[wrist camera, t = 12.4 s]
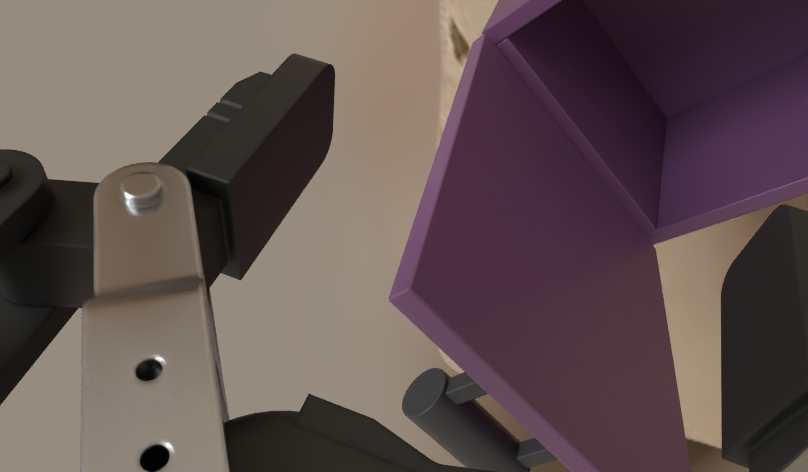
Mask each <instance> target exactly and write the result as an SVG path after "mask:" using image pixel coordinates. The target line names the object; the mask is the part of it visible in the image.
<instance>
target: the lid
mask: <svg viewBox="0 0 808 472" xmlns="http://www.w3.org/2000/svg"><path fill="white" fill-rule="evenodd" d="M389 301H390V302H391V303H392V304H393V305H394V306H395V307H397V309H399V310H400V311H401V312H402V313H403V314H404V315H405V316H406V317H407V318H408V319H409V320H411V322H412V323H413V324H414V325H416V326H417V327H418V328H419V329H420V330H421V331H422V332H423V333H424V334H425V335H426V336H427V337H429V339H430V340H432V341H433V342H434V343H435V344H436V345H437V346H438V347H439V348H440V349H441V350H442V351H443V352H444V353H445V354H446V355H447V356H449V357H450V358H451V359H452V360H453V361H454V362H455V363H456V364H457V365H458V366H459V367H460V368H461V369H462V370H463V371H465V372H464V373H461V374H459V375H456V376H454V377H452V378H451V377H450V376H449V375H447V373H445V372H444V371H443V370H442V369H439V368H432V369H429V370H427V371H425V372H424V373H422V374H421V375H419V376H418V377H417V378H416V379H415V380H414V381H413V382H412V384H411V385H410V386H409V388H408V389H407V391H406V393H405V395H404V398H403V402H402V410H403V412H404V414H405V415H406V416H407V417H408V418H409V419H410V420H412V421H413V422H414V423H415V424H416V425H417V426H418V427H420V428H421V429H422V430H423V431H424V432H426V433H427V434H428V435H429V436H430V437H432V438H433V439H434V440H435V441H436V442H437V443H438V444H440V445H441V446H442V447H443V448H444V449H445V450H447V451H448V452H449V453H450V454H451V455H452V456H454V457H455V458H456V459H457V460H458V461H460V462H461V463H462V464H463V465H464V466H465V467H466V468H472V469H481V470H489V471H497V472H530V469H531V467H534V466H538V465H541V464H545V463H548V462H552V461H555V460H559V461H560V462H561V463H563V464H564V465H565V466H566V467H567V468H568V469H569V470H570V471H571V472H691V470H690V464H689V457H688V452H687V445H686V438H685V432H684V426H683V419H682V413H681V407H680V400H679V394H678V388H677V381H676V375H675V369H674V362H673V356H672V350H671V343H670V337H669V331H668V324H667V318H666V312H665V305H664V299H663V293H662V286H661V280H660V274H659V267H658V261H657V255H656V249H655V248H654V246H653V245H652V244H651V242H650V241H649V240H648V239H647V237H646V236H645V235H644V234H643V232H642V231H641V230H640V229H639V227H638V226H637V225H636V223H635V222H634V221H633V220H632V218H631V217H630V216H629V215H628V213H627V212H626V211H625V210H624V208H623V207H622V206H621V205H620V203H619V202H618V201H617V199H616V198H615V197H614V196H613V194H612V193H611V192H610V191H609V189H608V188H607V187H606V186H605V184H604V183H603V182H602V180H601V179H600V178H599V177H598V175H597V174H596V173H595V172H594V170H593V169H592V168H591V167H590V165H589V164H588V163H587V161H586V160H585V159H584V158H583V156H582V155H581V154H580V153H579V151H578V150H577V149H576V148H575V146H574V145H573V144H572V143H571V141H570V140H569V139H568V137H567V136H566V135H565V134H564V132H563V131H562V130H561V129H560V127H559V126H558V125H557V124H556V122H555V121H554V120H553V118H552V117H551V116H550V115H549V113H548V112H547V111H546V110H545V108H544V107H543V106H542V105H541V103H540V102H539V101H538V99H537V98H536V97H535V96H534V94H533V93H532V92H531V91H530V89H529V88H528V87H527V86H526V84H525V83H524V82H523V81H522V79H521V78H520V77H519V75H518V74H517V73H516V72H515V70H514V69H513V68H512V67H511V65H510V64H509V63H508V62H507V60H506V59H505V58H504V56H503V55H502V54H501V53H500V51H499V50H498V49H497V48H496V46H495V45H494V44H493V43H492V41H491V40H490V39H489V38H488V36H487V35H486V34H483V35H482V36H481V37H480V38H478V39H477V40H476V41H474V42H473V44H472V47H471V50H470V53H469V56H468V59H467V62H466V65H465V68H464V71H463V74H462V77H461V80H460V83H459V86H458V89H457V92H456V95H455V98H454V101H453V104H452V107H451V110H450V114H449V117H448V120H447V123H446V126H445V129H444V132H443V135H442V138H441V141H440V144H439V147H438V150H437V153H436V156H435V159H434V162H433V165H432V169H431V171H430V174H429V177H428V181H427V184H426V187H425V189H424V193H423V196H422V199H421V202H420V205H419V208H418V211H417V214H416V217H415V220H414V223H413V226H412V230H411V232H410V235H409V238H408V241H407V244H406V247H405V250H404V253H403V256H402V260H401V263H400V265H399V268H398V272H397V275H396V278H395V281H394V284H393V287H392V290H391V293H390V296H389ZM486 394H489V395H490V396H491V397H492V398H493V399H494V400H495V401H497V402H498V403H499V404H500V405H501V406H502V407H503V408H504V409H505V410H506V411H507V412H508V413H509V414H510V415H511V416H512V417H514V418H515V419H516V420H517V421H518V422H519V423H520V424H521V425H522V426H523V427H524V428H525V429H526V430H527V431H528V432H529V433H531V434H532V435H533V436H534V437H535V438H532V439H529V440H526V441H523V442H520V441H519V440H518V439H517V438H516V437H515V436H514V435H513V434H511V433H510V432H509V431H508V430H507V429H506V428H505V427H504V426H503V425H502V424H501V423H500V422H499V421H497V420H496V419H495V418H494V417H493V416H492V415H491V414H490V413H489V412H488V411H487V410H485V409H484V408H483V407H482V406H481V405H480V404H479V403H478V402H477V401H476V400H475V398H478V397H481V396H483V395H486Z"/></svg>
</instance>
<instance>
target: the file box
mask: <svg viewBox="0 0 808 472" xmlns="http://www.w3.org/2000/svg"><path fill="white" fill-rule="evenodd" d="M482 34H486V35H487V36H488V38H489V39H490V40H491V41H492V43H493V44H494V45H495V46H496V48H497V49H498V50H499V51H500V53H501V54H502V55H503V56H504V58H505V59H506V60H507V62H508V63H509V64H510V65H511V67H512V68H513V69H514V70H515V72H516V73H517V74H518V75H519V77H520V78H521V79H522V81H523V82H524V83H525V84H526V86H527V87H528V88H529V89H530V91H531V92H532V93H533V94H534V96H535V97H536V98H537V99H538V101H539V102H540V103H541V105H542V106H543V107H544V108H545V110H546V111H547V112H548V113H549V115H550V116H551V117H552V118H553V120H554V121H555V122H556V124H557V125H558V126H559V127H560V129H561V130H562V131H563V132H564V134H565V135H566V136H567V137H568V139H569V140H570V141H571V143H572V144H573V145H574V146H575V148H576V149H577V150H578V151H579V153H580V154H581V155H582V156H583V158H584V159H585V160H586V161H587V163H588V164H589V165H590V167H591V168H592V169H593V170H594V172H595V173H596V174H597V175H598V177H599V178H600V179H601V180H602V182H603V183H604V184H605V186H606V187H607V188H608V189H609V191H610V192H611V193H612V194H613V196H614V197H615V198H616V199H617V201H618V202H619V203H620V205H621V206H622V207H623V208H624V210H625V211H626V212H627V213H628V215H629V216H630V217H631V218H632V220H633V221H634V222H635V223H636V225H637V226H638V227H639V229H640V230H641V231H642V232H643V234H644V235H645V236H646V237H647V239H648V240H649V241H650V242H651V244H652V245H654V244H657V243H660V242H663V241H666V240H669V239H672V238H675V237H678V236H681V235H684V234H687V233H690V232H693V231H696V230H699V229H702V228H705V227H708V226H711V225H714V224H717V223H720V222H723V221H726V220H729V219H732V218H735V217H738V216H741V215H744V214H747V213H750V212H753V211H756V210H759V209H762V208H765V207H768V206H771V205H774V204H777V203H780V202H783V201H786V200H789V199H792V198H795V197H798V196H801V195H804V194H807V193H808V0H499V1H498V3H497V5H496V7H495V9H494V11H493V13H492V15H491V17H490V18H489V20H488V22H487V24H486V26H485V28H484V30H483V32H482Z"/></svg>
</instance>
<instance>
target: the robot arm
mask: <svg viewBox="0 0 808 472" xmlns="http://www.w3.org/2000/svg"><path fill="white" fill-rule="evenodd" d="M334 87H335V71H334V67H333V66H332V65H331V64H328V63H324V62H321V61H317V60H314V59H311V58H307V57H304V56H301V55H298V54H292V55H290V56H289V57H288V58H287V59H286V60H285V61H284V62H283V63H282V64H281V66H280V67H279V68H278V69H277V70H276V71H275V72H274V73H273V74H272V75H270V74H267V73H263V72H259V73H257V74H254V75H252V76H250V77H248V78H246V79H244V80H241V81H239V82H237V83H236V84H235V85H234V86H233V87H232V88H231V89H230V90H229V91H228V92H227V93H226V94H225V95H224V96H223V97H222V98H221V100H220V103H218V102H217V103H216V104H215V105H214V106H213V107H212V108H211V109H210V110H209V111H208V114H207V116H204V117H202V119H200V120H199V121H198V122H197V123H196V124H195V125H194V127H192V129H191V130H190V131H189V132H188V133H187V134H186V135H185V136H184V137H183V138H182V139H181V140H180V141H179V142H178V143H177V144H176V145H175V146H174V147H173V148H172V149H171V150H170V151H169V152H168V153H167V154H166V155H165V156H164V157H163V158H162V159H161V160H160V161H159V162H158V163H153V162H145V163H136V164H131V165H128V166H124V167H122V168H120V169H117V170H116V171H114V172H112V173H110V174H109V175H108V176H107V177H105V178H104V179H103V180H102V181H101V182H100V183H91V182H77V181H64V180H50V179H48V178H47V176H46V173H45V171H44V168H43V166H42V164H41V163H40V161H39V160H38V159H37V158H35V157H34V156H32V155H30V154H28V153H25V152H21V151H17V150H0V405H1V404H2V402H3V401H4V400H5V399H6V397H7V396H8V395H9V394H10V392H11V391H12V390H13V389H14V387H15V386H16V385H17V384H18V383H19V381H20V380H21V379H22V378H23V376H24V375H25V374H26V372H27V371H28V370H29V369H30V367H31V366H32V365H33V364H34V363H35V361H36V360H37V359H38V358H39V356H40V355H41V354H42V353H43V351H44V350H45V349H46V348H47V346H48V345H49V344H50V343H51V341H52V340H53V339H54V338H55V336H56V335H57V334H58V333H59V332H60V330H61V329H62V328H63V327H64V325H65V324H66V323H67V322H68V320H69V319H70V318H71V316H72V315H73V314H74V313H75V312H76V310H77V309H78V308H82V343H81V344H82V347H81V435H80V439H81V440H80V472H497V471H489V470H481V469H472V468H464V467H456V466H448V465H442V464H438V463H436V462H434V461H432V460H431V459H429V458H428V457H426V456H425V455H424V454H422V453H421V452H419V451H418V450H417V449H415V448H414V447H412V446H411V445H410V444H408V443H407V442H405V441H404V440H403V439H401V438H400V437H398V436H397V435H396V434H394V433H393V432H391V431H390V430H389V429H387V428H386V427H384V426H383V425H381V424H380V423H379V422H377V421H376V420H374V419H372V418H370V417H367V416H365V415H362V414H360V413H357V412H354V411H352V410H349V409H347V408H344V407H342V406H339V405H336V404H334V403H331V402H329V401H326V400H324V399H321V398H318V397H316V396H313V395H311V394H308V397H307V398H306V401H305V402H304V404H303V406H302V408H301V410H300V412H296V411H268V412H260V413H254V414H249V415H245V416H242V417H237V418H235V419H232V420H230V417H229V412H228V405H227V399H226V393H225V387H224V382H223V375H222V368H221V361H220V355H219V348H218V342H217V334H216V327H215V321H214V314H213V307H212V301H211V294H210V286H211V285H212V284H213V282H214V281H215V280H216V278H217V277H218V275H219V274H220V273H222V274H225V275H228V276H231V277H233V278H236V279H239V280H241V279H242V278H243V277H244V275H245V273H246V272H247V271H248V269H249V268H250V266H251V265H252V263H253V262H254V261H255V259H256V258H257V256H258V255H259V253H260V252H261V251H262V249H263V248H264V246H265V245H266V243H267V242H268V241H269V239H270V238H271V236H272V235H273V233H274V232H275V230H276V229H277V227H278V226H279V225H280V223H281V222H282V220H283V219H284V218H285V216H286V215H287V213H288V212H289V210H290V209H291V207H292V206H293V205H294V203H295V202H296V200H297V199H298V197H299V196H300V194H301V193H302V192H303V190H304V189H305V187H306V186H307V184H308V183H309V182H310V180H311V179H312V177H313V176H314V174H315V173H316V171H317V170H318V169H319V167H320V165H321V164H322V163H323V161H324V159H325V157H326V155H327V153H328V150H329V147H330V143H331V139H332V132H333V113H334ZM721 390H722V459H725V460H727V461H730V462H733V463H736V464H738V465H741V466H744V467H747V468H749V472H808V211H805V210H801V209H798V208H795V207H791V206H788V205H781V206H779V207H777V208H776V209H775V210H774V211H773V212H772V213H771V215H770V216H769V217H768V218H767V220H766V221H765V222H764V223H763V225H762V226H761V227H760V228H759V230H758V231H757V232H756V233H755V235H754V236H753V237H752V239H751V240H750V241H749V242H748V244H747V245H746V246H745V247H744V249H743V250H742V251H741V252H740V254H739V255H738V256H737V258H736V259H735V260H734V261H733V263H732V264H731V266H730V268H729V270H728V272H727V274H726V276H725V279H724V282H723V286H722V291H721Z"/></svg>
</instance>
